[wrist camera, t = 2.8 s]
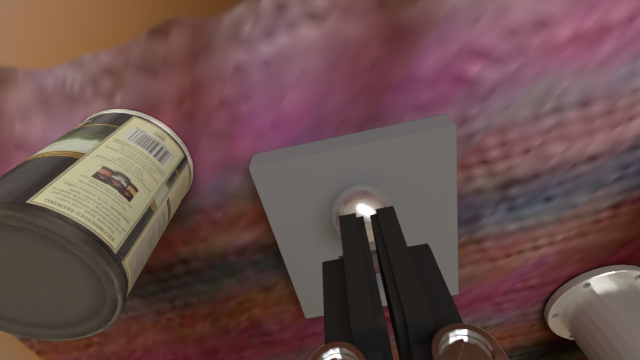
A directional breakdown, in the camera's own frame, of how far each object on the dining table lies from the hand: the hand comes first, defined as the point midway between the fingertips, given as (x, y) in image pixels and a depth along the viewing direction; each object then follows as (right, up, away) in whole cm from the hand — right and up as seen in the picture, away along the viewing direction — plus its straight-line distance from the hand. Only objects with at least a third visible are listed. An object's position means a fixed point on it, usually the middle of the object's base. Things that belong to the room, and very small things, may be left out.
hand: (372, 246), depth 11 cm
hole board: (+3, -2, +24) cm, 24 cm away
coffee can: (-18, +4, +20) cm, 27 cm away
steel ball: (+2, -1, +17) cm, 17 cm away
